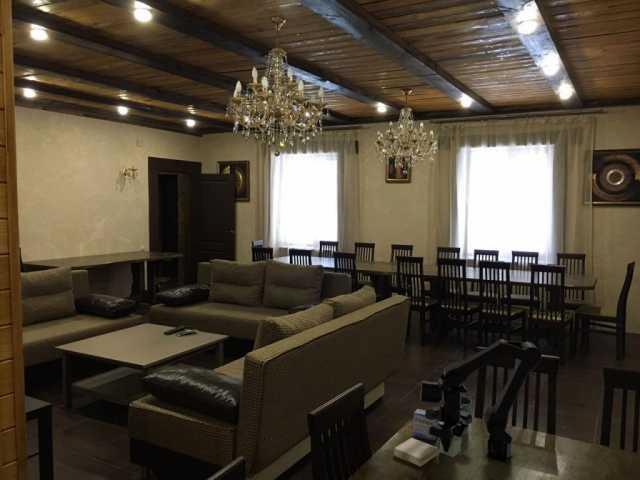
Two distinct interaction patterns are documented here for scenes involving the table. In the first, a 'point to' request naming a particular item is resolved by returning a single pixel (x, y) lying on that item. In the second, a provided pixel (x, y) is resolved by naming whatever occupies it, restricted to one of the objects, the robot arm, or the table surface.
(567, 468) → the table surface
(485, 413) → the robot arm
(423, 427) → the medicine box
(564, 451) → the table surface
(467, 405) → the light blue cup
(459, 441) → the green cube
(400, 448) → the birch block
